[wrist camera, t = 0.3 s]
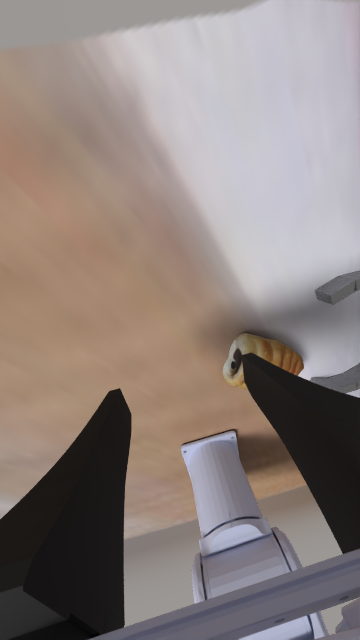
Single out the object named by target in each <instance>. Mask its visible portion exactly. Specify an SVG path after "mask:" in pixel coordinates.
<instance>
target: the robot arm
mask: <svg viewBox="0 0 360 640" xmlns="http://www.w3.org/2000/svg"><path fill="white" fill-rule="evenodd" d="M242 365H243V374H244V382H245V384H246V386H247V388H248V390H249V392H250V394H251V396H252V397H253V399H254V400H255V402H256V403H257V405H258V406H259V408H260V409H261V411H262V412H263V413H264V415H265V416H266V418H267V419H268V420H269V422H270V423H271V425H272V426H273V428H274V429H275V430H276V432H277V433H278V435H279V436H280V438H281V439H282V441H283V443H284V444H285V446H286V448H287V450H288V451H289V453H290V455H291V457H292V458H293V460H294V462H295V464H296V465H297V467H298V469H299V471H300V472H301V474H302V476H303V478H304V480H305V481H306V483H307V485H308V487H309V489H310V491H311V493H312V495H313V496H314V498H315V500H316V502H317V504H318V506H319V507H320V509H321V511H322V513H323V515H324V517H325V519H326V521H327V523H328V525H329V527H330V529H331V531H332V533H333V535H334V537H335V539H336V540H337V543H338V545H339V547H340V549H341V551H342V553H343V554H342V555H339V556H336V557H333V558H331V559H327V560H325V561H321V562H318V563H316V564H313V565H309V566H306V567H304V568H303V567H302V565H301V563H300V561H299V559H298V557H297V554H296V553H295V551H294V548H293V547H292V545H291V543H290V541H289V540H288V538H287V536H286V535H285V534H284V533H283V532H282V531H280V530H279V529H278V528H277V527H273V528H270V525H269V523H268V520H267V518H266V517H264V518H263V515H262V513H261V511H260V508H259V506H258V503H257V501H256V498H255V496H254V493H253V491H252V489H251V486H250V484H249V481H248V479H247V476H246V474H245V471H244V469H243V467H242V464H241V462H240V458H239V452H238V445H237V438H236V433H235V431H229V432H225V433H222V434H219V435H215V436H212V437H208V438H205V439H202V440H198V441H195V442H191V443H188V444H185V445H182V446H181V452H182V455H183V458H184V461H185V463H186V466H187V469H188V472H189V475H190V478H191V481H192V486H193V492H194V497H195V503H196V509H197V514H198V520H199V525H200V531H201V536H202V539H200V540H199V544H200V550H201V553H198V554H196V556H195V560H194V563H193V566H192V583H193V592H194V602H195V604H193V605H190V606H187V607H184V608H181V609H178V610H175V611H172V612H169V613H166V614H163V615H160V616H157V617H154V618H151V619H148V620H145V621H142V622H139V623H136V624H133V625H130V626H127V627H124V625H125V622H124V578H123V577H124V572H123V570H124V569H123V563H124V561H123V560H124V559H123V558H124V556H123V552H124V551H123V549H124V548H123V547H124V543H123V542H124V499H125V481H126V472H127V464H128V456H129V448H130V439H131V412H130V410H129V408H128V405H127V403H126V401H125V399H124V396H123V394H122V392H121V390H120V388H119V389H115V390H112V391H109V392H108V394H107V395H106V397H105V398H104V400H103V401H102V403H101V404H100V406H99V407H98V409H97V410H96V412H95V413H94V415H93V416H92V418H91V419H90V420H89V422H88V423H87V425H86V426H85V427H84V429H83V430H82V431H81V433H80V434H79V435H78V437H77V438H76V440H75V441H74V442H73V443H72V445H71V446H70V447H69V448H68V450H67V451H66V452H65V453H64V454H63V456H62V457H61V458H60V459H59V460H58V461H57V463H56V464H55V465H54V466H53V467H52V468H51V469H50V470H49V471H48V473H47V474H46V475H45V476H44V477H43V478H42V479H41V480H40V481H39V482H38V483H37V484H36V485H35V486H34V487H33V488H32V489H31V490H30V491H29V492H28V493H27V494H26V495H25V496H24V497H23V498H22V499H21V500H20V501H19V502H18V503H17V504H16V505H15V506H14V507H13V508H12V509H11V510H10V511H9V512H8V513H7V514H6V515H5V516H3V517H2V518H1V519H0V640H360V598H359V599H357V600H355V601H353V602H351V603H350V604H348V605H346V606H344V607H342V615H343V620H342V621H341V622H340V624H339V625H338V626H337V627H336V634H332V635H329V634H328V632H327V629H326V627H325V624H324V622H323V619H322V615H321V612H320V611H321V610H324V609H327V608H330V607H333V606H336V605H338V604H341V603H344V602H347V601H350V600H353V599H355V598H358V597H360V398H358V397H354V396H351V395H348V394H345V393H341V392H338V391H335V390H332V389H329V388H326V387H324V386H321V385H318V384H316V383H313V382H311V381H308V380H306V379H303V378H301V377H299V376H297V375H294V374H292V373H290V372H288V371H286V370H284V369H282V368H280V367H278V366H276V365H274V364H272V363H270V362H269V361H267V360H265V359H263V358H261V357H259V356H257V355H256V354H254V353H252V352H251V353H247V354H244V355H242Z"/></svg>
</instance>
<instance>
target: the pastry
mask: <svg viewBox="0 0 360 640" xmlns="http://www.w3.org/2000/svg"><path fill="white" fill-rule="evenodd" d="M251 352H252V353H254V354H256V355H257V356H259V357H261V358H263V359H265V360H267V361H269V362H270V363H272V364H274V365H276V366H278V367H280V368H282V369H284V370H286V371H288V372H290V373H292V374H294V375H298V374H299V373H300V372H301V371H302V370H303V369H304V364H303V360H302V358H301V356H300V355H299V354H298V353H296V352H294V351H293V350H292V349H291V348H290V347H288V346H286V345H284V344H282V343H280V342H279V341H278V340H276V339H266V338H263V337H261V336H258V335H251V334H248V333H243V334H240V335H238V336H237V338H236V339H235V340H234V341H233V343H232V345H231V348H230V352H229V358H228V359H227V360H226V362H225V364H224V367H223V376H224V378H225V380H226V382H227V383H229V384H231V385H233V386H238V387H241V388H243V389H248V388H247V386H246V384H245V382H244V374H243V365H242V355H244V354H247V353H251Z"/></svg>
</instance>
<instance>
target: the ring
mask: <svg viewBox="0 0 360 640" xmlns="http://www.w3.org/2000/svg"><path fill="white" fill-rule="evenodd" d="M359 290H360V271H357V272H353V273H349V274H345V275H341V276H338V277H336V278H334V279H333V280H331V281H330V282H328V283H326V284H325V285H323V286H321V287H320V288H318V289H317V290H315V293H316V296H317V299H318V300H321V301H324V302H326V303H329V304H332V305H334V304H336V303H337V302H339V301H341V300H342V299H344V298H345V297H347V296H349V295H350V294H352V293H354V292H355V291H359ZM310 381H311V382H313V383H316V384H318V385H321V386H324V387H326V388H329V389H332V390H335V391H338V392H341V393H348V392H351V391H355V390H358V389H359V388H360V364H358V365H357V366H355V367H353V368H352V369H350V370H348V371H346V372H344V373H343V374H339V375H336V376H332V377H329V378H311V380H310Z"/></svg>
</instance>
